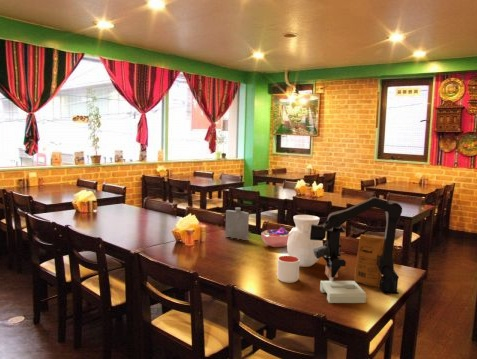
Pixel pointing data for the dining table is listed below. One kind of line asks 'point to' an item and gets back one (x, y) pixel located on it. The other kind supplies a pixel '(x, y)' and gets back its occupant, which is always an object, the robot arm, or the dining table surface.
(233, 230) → the hip flask
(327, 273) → the peg
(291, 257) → the cup
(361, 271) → the coffee package
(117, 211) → the dining table surface
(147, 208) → the dining table surface
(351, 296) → the keyhole plate
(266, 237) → the cell model
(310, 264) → the white vase
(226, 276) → the dining table surface
